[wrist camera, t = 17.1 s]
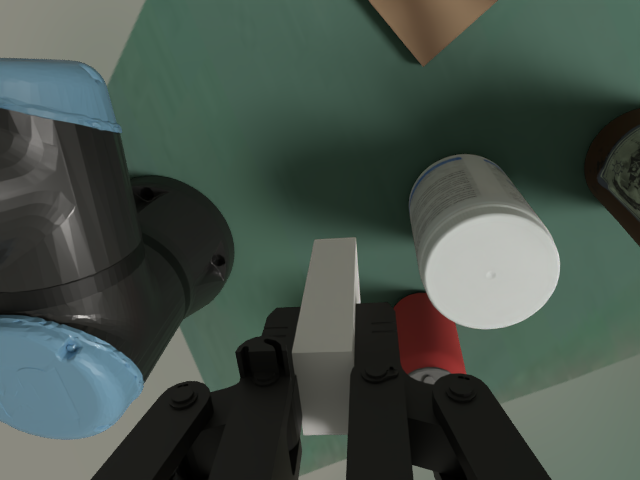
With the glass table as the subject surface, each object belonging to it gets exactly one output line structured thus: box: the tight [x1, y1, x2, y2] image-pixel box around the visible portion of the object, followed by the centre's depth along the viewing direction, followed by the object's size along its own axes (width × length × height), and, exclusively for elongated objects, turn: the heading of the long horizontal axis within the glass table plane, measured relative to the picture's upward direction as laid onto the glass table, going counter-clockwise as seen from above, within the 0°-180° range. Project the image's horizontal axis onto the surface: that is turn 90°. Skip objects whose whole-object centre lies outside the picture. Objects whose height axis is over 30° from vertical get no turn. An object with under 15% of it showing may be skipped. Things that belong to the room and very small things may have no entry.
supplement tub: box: [409, 154, 560, 329], centre depth 42 cm, size 10×10×15 cm
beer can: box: [393, 293, 466, 384], centre depth 49 cm, size 7×7×12 cm
